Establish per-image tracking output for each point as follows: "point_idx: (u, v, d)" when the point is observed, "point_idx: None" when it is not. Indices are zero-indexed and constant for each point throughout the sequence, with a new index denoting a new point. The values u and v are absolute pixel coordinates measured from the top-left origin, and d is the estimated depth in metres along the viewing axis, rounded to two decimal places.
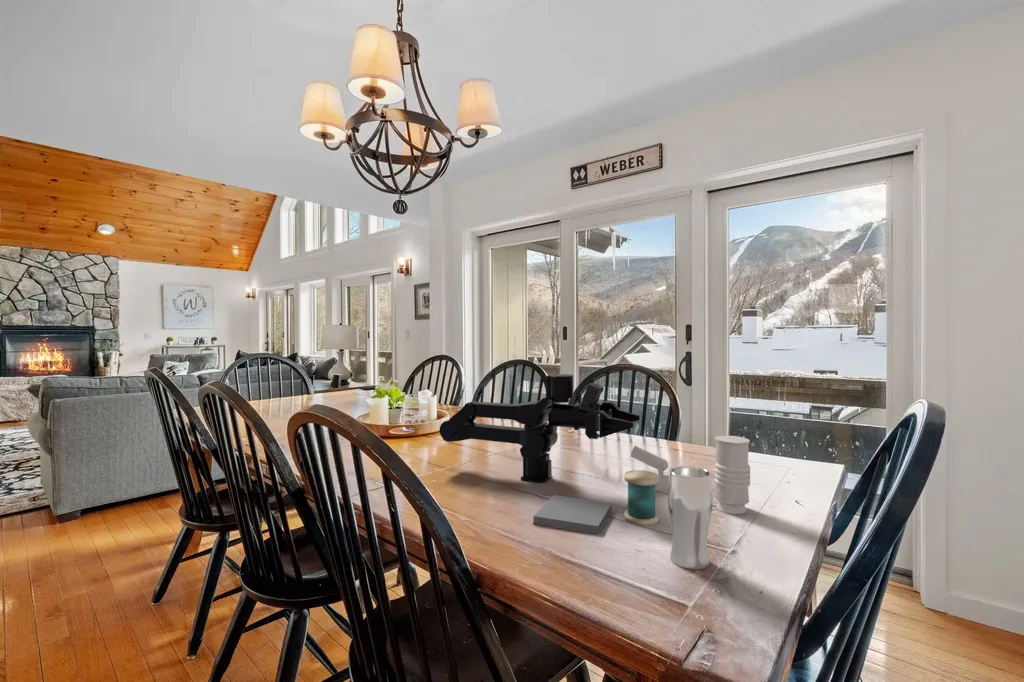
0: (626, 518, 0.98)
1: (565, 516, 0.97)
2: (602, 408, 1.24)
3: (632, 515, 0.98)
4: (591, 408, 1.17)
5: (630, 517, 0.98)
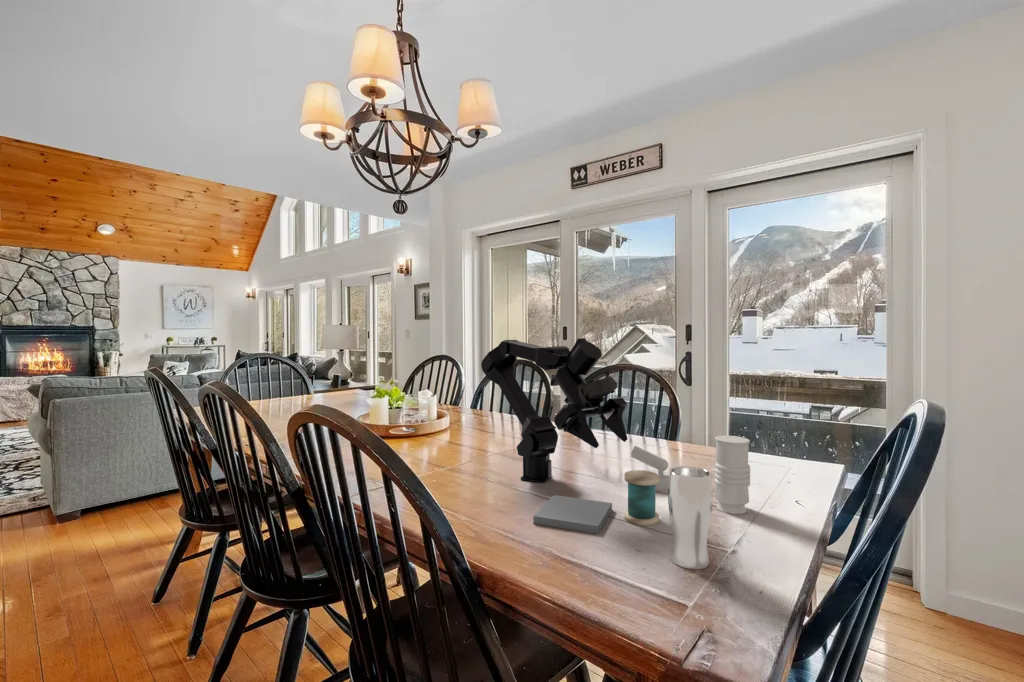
0: (626, 518, 0.98)
1: (565, 516, 0.97)
2: (609, 402, 1.13)
3: (632, 515, 0.98)
4: (584, 400, 1.08)
5: (630, 517, 0.98)
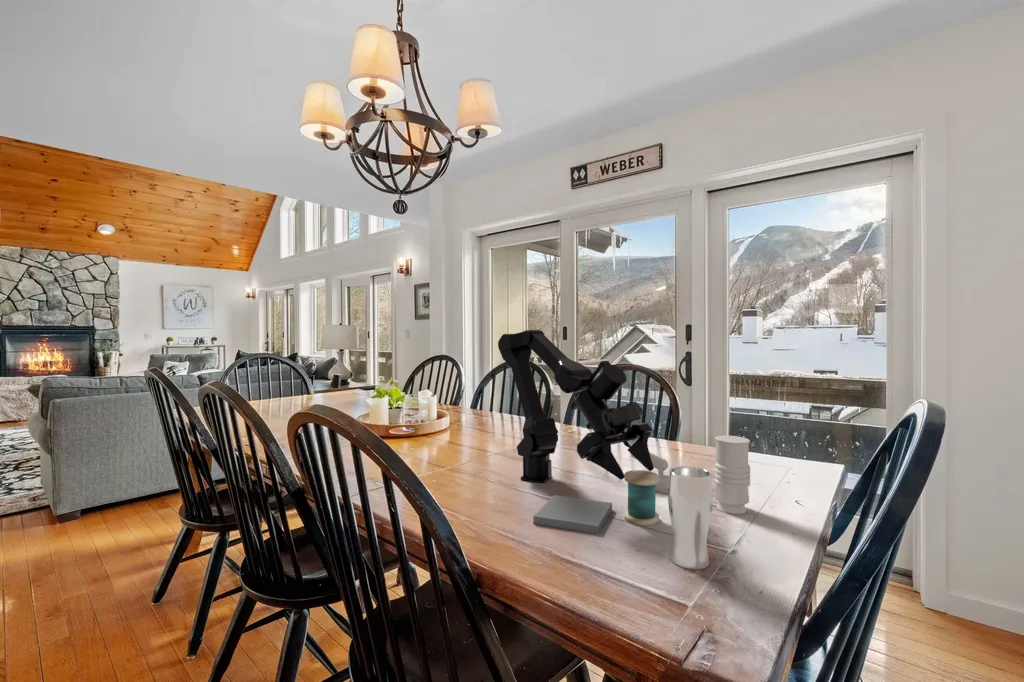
0: (626, 518, 0.98)
1: (565, 516, 0.97)
2: (633, 428, 1.07)
3: (632, 515, 0.98)
4: (608, 427, 1.02)
5: (630, 517, 0.98)
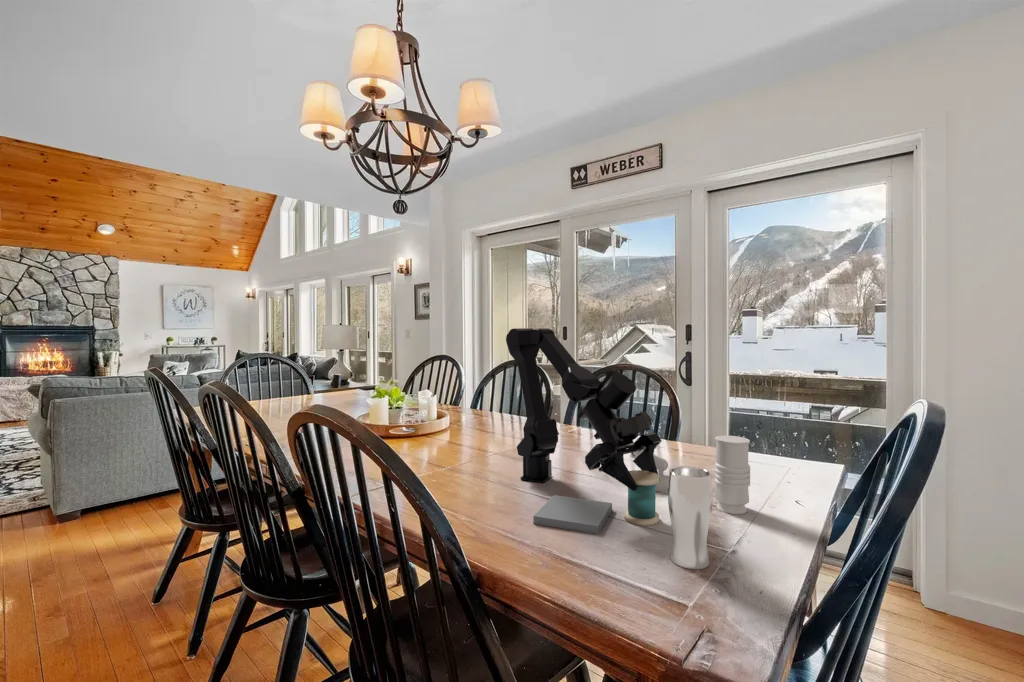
0: (626, 518, 0.98)
1: (565, 516, 0.97)
2: (642, 438, 1.05)
3: (632, 515, 0.98)
4: (617, 438, 1.00)
5: (630, 517, 0.98)
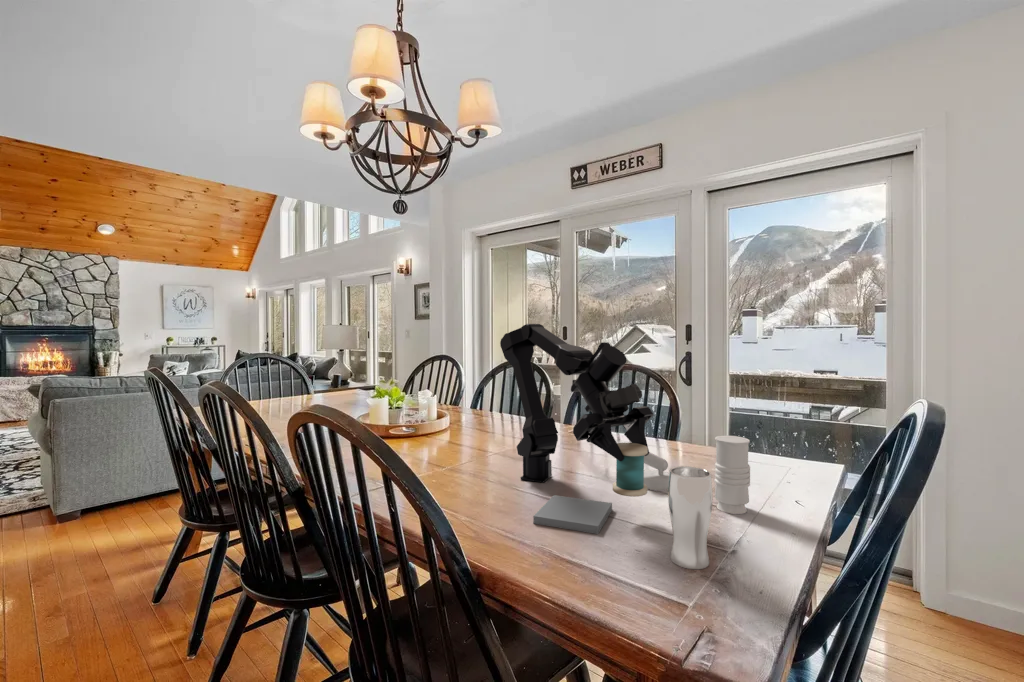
0: (614, 489, 0.98)
1: (565, 516, 0.97)
2: (633, 412, 1.05)
3: (620, 486, 0.98)
4: (606, 409, 1.00)
5: (617, 488, 0.98)
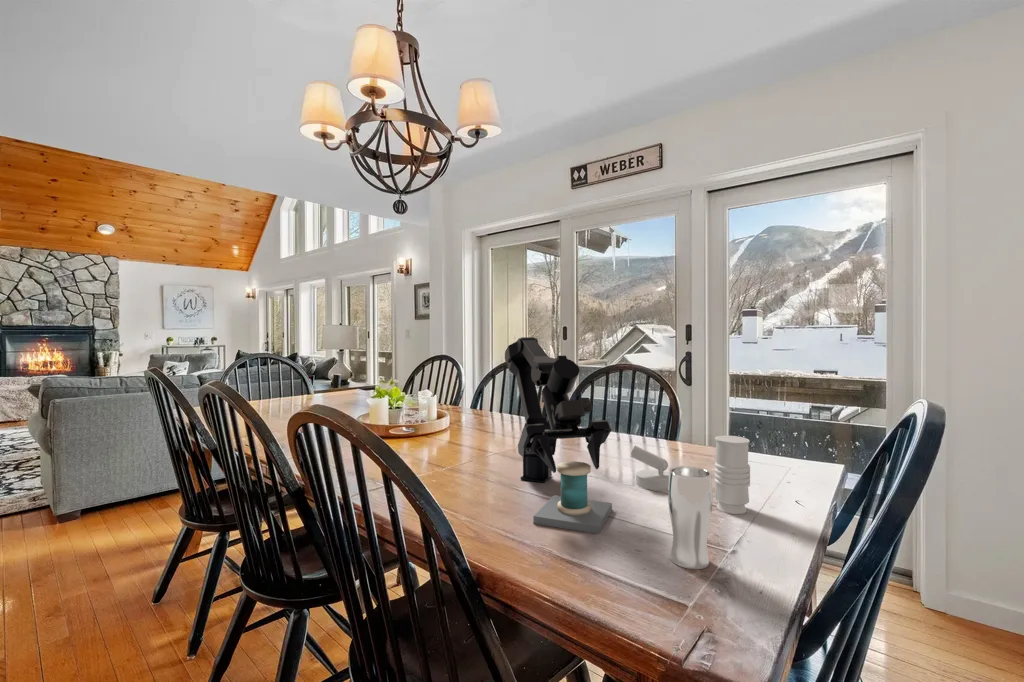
0: (557, 506, 1.01)
1: (565, 516, 0.97)
2: (590, 425, 1.05)
3: (561, 503, 1.00)
4: (554, 421, 1.03)
5: (559, 505, 1.00)
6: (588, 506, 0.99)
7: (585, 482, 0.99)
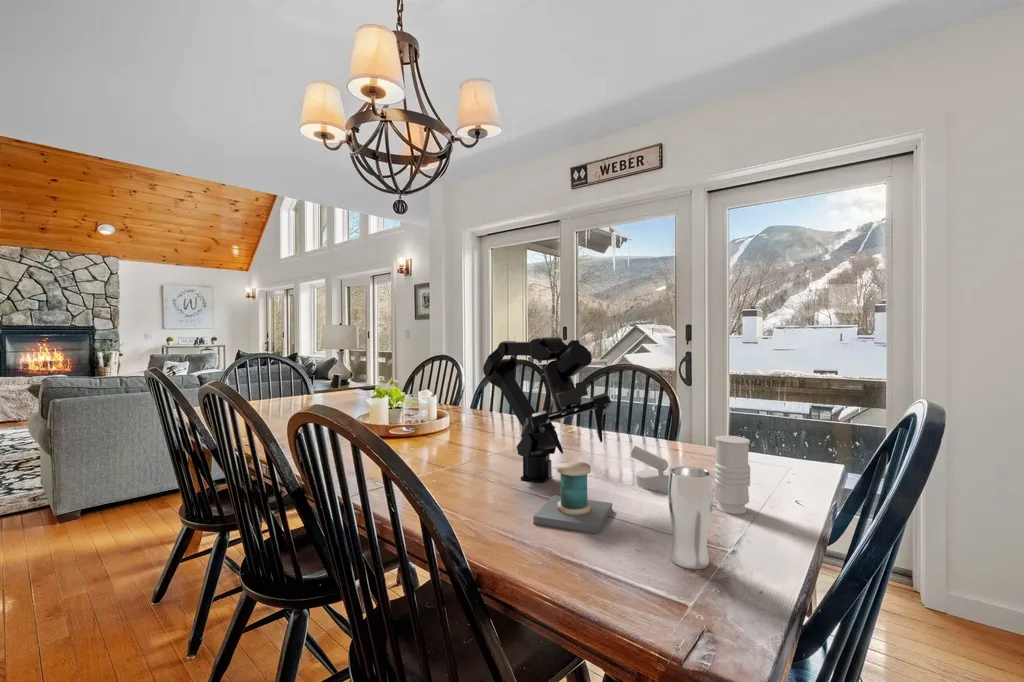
0: (557, 506, 1.01)
1: (565, 516, 0.97)
2: (591, 400, 1.13)
3: (561, 503, 1.00)
4: (556, 406, 1.12)
5: (559, 505, 1.00)
6: (588, 506, 0.99)
7: (585, 482, 0.99)
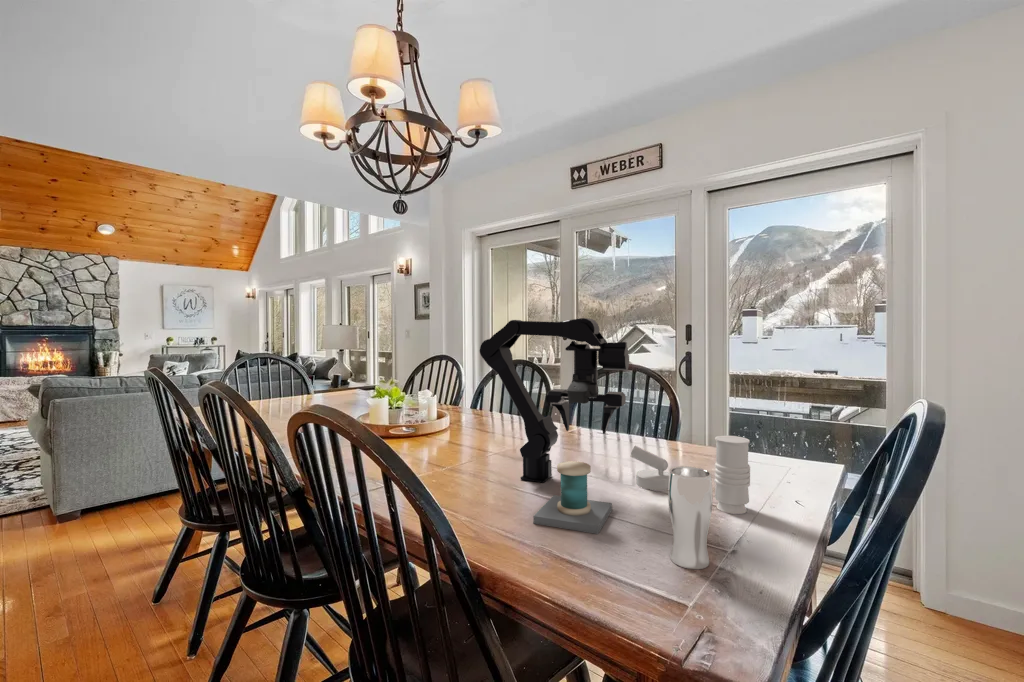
0: (557, 506, 1.01)
1: (565, 516, 0.97)
2: None
3: (561, 503, 1.00)
4: None
5: (559, 505, 1.00)
6: (588, 506, 0.99)
7: (585, 482, 0.99)
